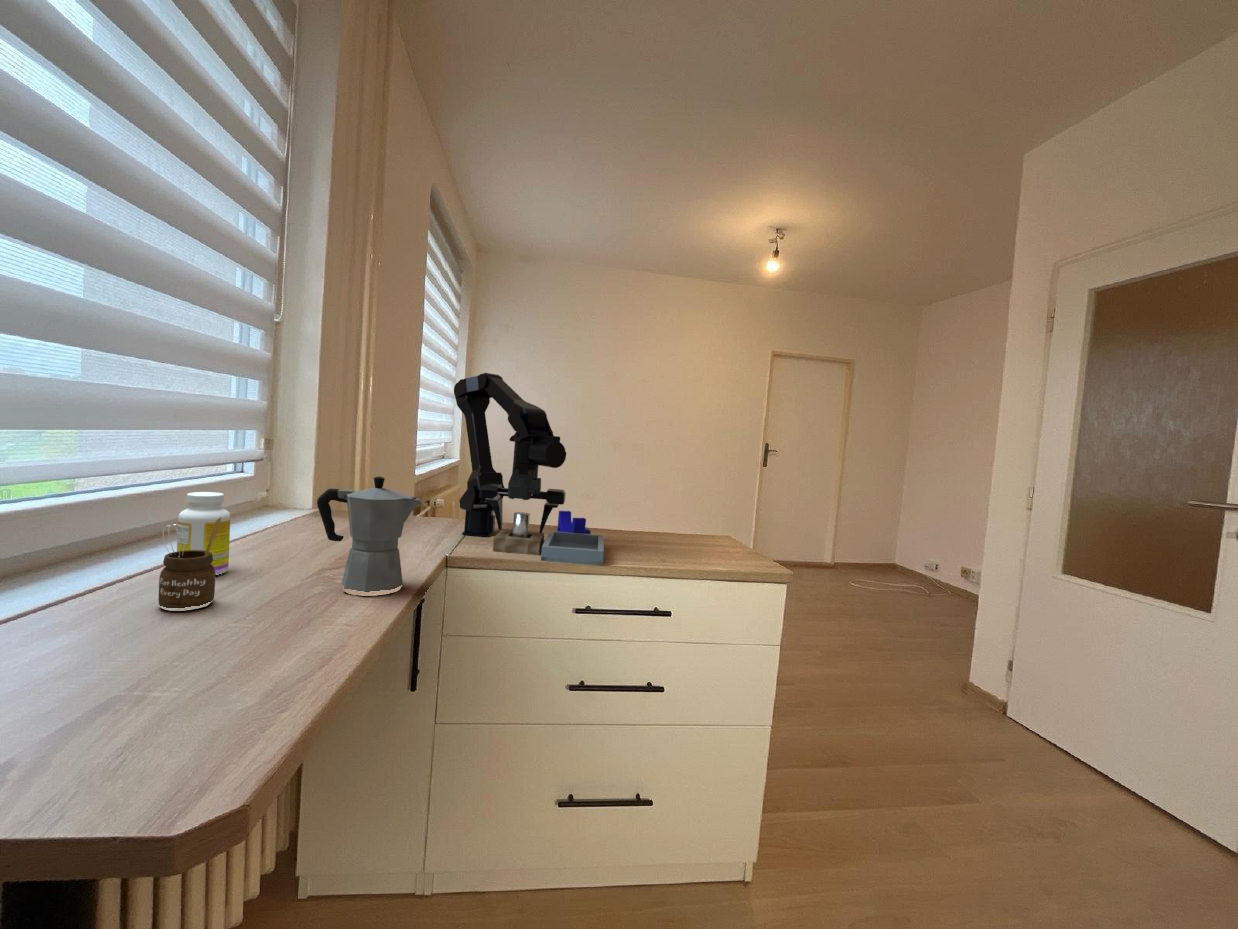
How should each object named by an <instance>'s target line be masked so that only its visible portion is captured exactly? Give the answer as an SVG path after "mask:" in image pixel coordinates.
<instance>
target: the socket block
mask: <svg viewBox="0 0 1238 929" xmlns="http://www.w3.org/2000/svg"><path fill="white" fill-rule="evenodd" d="M512 534H513V529H501V530H499V532H498V533H496V535H495V536H494V537H493V544H492V552H500V553H510V554H512V553H513V554H525V555H537V556H538V555H540V554H541V552H542V545H543V544H544V542H545V532H542V533H540V531H539V532H538V531H528V538H522V537H512Z"/></svg>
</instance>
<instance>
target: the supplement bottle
mask: <svg viewBox="0 0 1238 929" xmlns="http://www.w3.org/2000/svg"><path fill="white" fill-rule="evenodd" d="M224 496H225V494H224V493H222V492H215V491H213V492H212V491H198V492H188V493H187V494H186V502H187V508H185V509H184V510H181V512H180V513H179V514H178V516H177V524H178V525H180V526H181V527H182V528H181V527H180V526H178V525H177V530H178V532H177V531H176V534H179V536H177V535H176V536H177V537H176V539H177V540H176V552H177V551H179V550H180V545H181V551H183V550H184V548H185V550H184V551H186V550H203V551H206V549H207V547H208V544H209V538H210V535H211V533H212V530H213V528H214V525H215V523H216V520H217V519H218V518H220V517H222V518H221V521H220V524H219V528H218V531H217V534H216V537H215V539H214V540H213V542H212V545H211V547H210V550H209V552H211V553H212V555H213V562H212V563H211V565H212V566H213V567H214V569H215V575H216V574H220V573H223V572H225V573H227V572H228V570H229V564H230V563H229V560H230V542H231V541H230V538H231V536H230V535H231V534H230V533H231V513H230V511H228V510H227V509H225V508H223V502H224V501H225V500H224V499H225V498H224ZM182 529H183V530H182ZM183 531H184V534H183ZM184 535H185V540H186V545H185V547H184V544H185V540H184ZM178 539H180V541H179V542H178ZM226 571H227V572H226Z"/></svg>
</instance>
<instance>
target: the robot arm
mask: <svg viewBox="0 0 1238 929" xmlns="http://www.w3.org/2000/svg"><path fill="white" fill-rule="evenodd" d="M453 394H454V399H455V402H456V406H457V408H458V409H459V410H460V411H461V412H462V414H463V415H464V418H465V424H466V425H465V426H466V432H467V441H468V447H469V448H468V449H469V457H470V463H471V473H470V474H469V477H468V479H467V481H466V485H467V487H466V488H467V489H466V491H465V492H464V493H463V494H462V495H461V497H460V498H459V501H458V502H459V508H460V509H461V510H464V511H465V515H464V516H465V517H464V518H465V519H464V530H463V531H462V532H461V533H462V534H461V535H464V536H474V537H475V536H477V537H488V538H489V537H490V536H491V535H492V534H493V533H494V532H495V527H496V523H497V527H498V530H499V531H501V530H502V528H503V498H504V497H508V499H510V500H514V499H519V500H523V501H529V500H531V499H534V500H535V499H536V500H545V503H544V505H543V513H542V516H541V520H540V526H539V532H540V533H543V531H544V529H545V526H546V523H547V521H548V519H549V516H550V514H551V513H552V511H553V509H554V508H555V509H556V508H558V507H559V505H560V506H561V505H564V504H565V502H566V494H567V493H566V490H564V489H561V488H560V489H559V488H548V489H547V490H546V491H545V490H544V491H543V490H541V489H542V478H541V477H538V476H539V475H538V474H539V467H540V466H541V467H547V468H553V469H558V468H560V467H562V465H563V464H564V463H565V461H566V458H567V452H566V448H565V445H564V444H563V443H561V436H559V435H557V436H556V435H554V431H553V430H552V428H551V425H550V422H549V419H548V415H547V412H546V411H545V410H544V409H542V408H540V407H539V406H537V405H536V404H533V403H530V402H527V401H526V400H524V399H523V398H522V397H521V396H520V395H519V394H518V393H517V392H516V391H515V390H514V389H513V388H512V387H510V385H508V384H507V382H505V380H504V379H503V377H502V376H501V375H499V374H495V373H490V372H489V373H488V372H484V373H480V374H479V375H476V376H470V377H466V378H464V379H463V378H461V379H459V380H458V382H456V383H455V384H454V387H453ZM491 399H493V400H494V401H495V402H496V403H497V404H498V405H499V406H500V407H501V408H502V410H504V411H505V412H506V414H507V422H508V424H509V425H510V426H511V428H512V430H513V431H514V432H515V433H514V434H513V435H512V436H510V437H509V441H510V442H514V447H513V458H512V459H513V461H512V473H511V476H510V477H509V482H508V484H507V488H506V487H505V485H504V478H503V473H502V472H497V471H496V470H495V469H494V466H493V459H492V455H491V454H492V453H491V447H490V438H489V433H488V425H487V419H486V411H487V409H488V408H489V405H490V403H491Z"/></svg>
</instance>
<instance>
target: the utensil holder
mask: <svg viewBox="0 0 1238 929" xmlns="http://www.w3.org/2000/svg"><path fill="white" fill-rule="evenodd" d="M221 518H222V517H220V518H218V519H217V520H216V523H215V525H214V528H213V530H212V533H211V535H210V538H209V544H208V547H207V549H206V551H203V550H186V551H184V550H185V548H184V550H183V551H181V545H180V550H179V551H177V550H176V551H175V550H174V547H173V542H172V538H171V536H168V538H169V543H170V546H171V550H172V552H170V551H169V550H168V547H167V545H166V541H165V535H164V534H165V533H164V532H165V530H166V528H163V530H162V539H163V544H164V546H165V548H166V550H167V552H168V553H166V554H165V555H164V559H163V561H162V562H163V565H164V567H163V568H162V570H161V571H160V574H159V581H158V606H159V605H160V606H163V607H166V608H185V607H191V606H200V605H203V604H206V603H208V602H211V601H212V600H213V599H214V598H215V591H216V589H215V588H216V576H215V569H214V567H213V566H212V565H211V563H212V562H213V555H212V553H211V552H209V550H210V547H211V545H212V542H213V540H214V539H215V537H216V534H217V531H218V528H219V524H220V521H221ZM171 526H174V528H175V530H176V534H177V532H178V526H180V525H178V523H170V524H168V525H166V527H167V532H168V535H171V532H170V531H171ZM176 526H177V527H176ZM180 527H181V526H180ZM181 528H182V527H181ZM182 530H183V529H182ZM183 534H184V531H183ZM176 536H179V534H177V535H176ZM184 540H185V535H184ZM179 541H180V539H178V542H179ZM185 545H186V540H185V544H184V547H185ZM213 601H214V600H213Z"/></svg>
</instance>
